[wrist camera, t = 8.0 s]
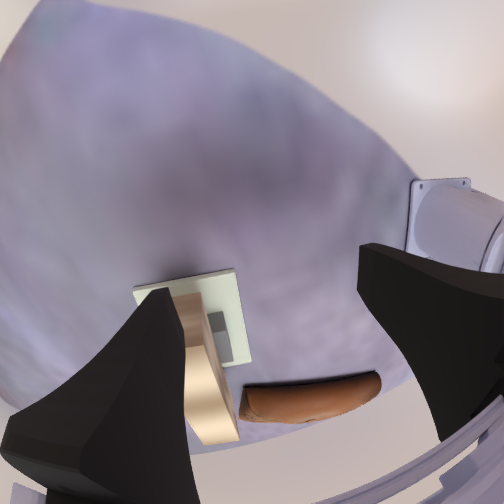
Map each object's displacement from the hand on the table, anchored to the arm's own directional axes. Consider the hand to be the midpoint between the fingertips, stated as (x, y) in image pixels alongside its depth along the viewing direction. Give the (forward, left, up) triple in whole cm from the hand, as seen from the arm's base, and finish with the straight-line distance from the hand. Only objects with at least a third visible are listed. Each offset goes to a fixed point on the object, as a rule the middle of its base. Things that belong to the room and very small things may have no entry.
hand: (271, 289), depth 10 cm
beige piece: (+5, +10, -7) cm, 13 cm away
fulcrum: (+5, +9, -10) cm, 15 cm away
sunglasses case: (-5, +25, -11) cm, 28 cm away
